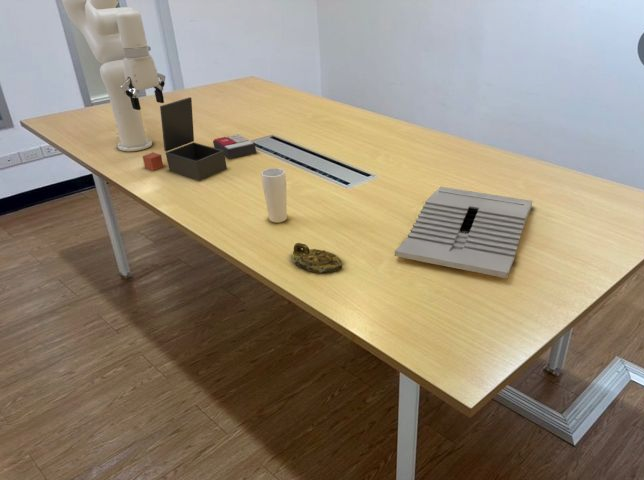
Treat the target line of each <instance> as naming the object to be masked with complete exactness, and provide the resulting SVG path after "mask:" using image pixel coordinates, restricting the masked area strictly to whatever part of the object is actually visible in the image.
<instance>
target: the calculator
mask: <svg viewBox="0 0 644 480" xmlns="http://www.w3.org/2000/svg"><path fill="white" fill-rule="evenodd" d="M212 142H213V143H212V144H213V148H216V149H220V150H223V151H224V153H225V158H227V159H229V160H231V159H236V158H241V157H244V156H248V155H252V154H253V155H254V154H256V153H257V149H256V143H255V142H253V141H251V140H249V139H248V138H246V137H244V136H242V135H241V134H239V133H236V134H233V135H228V136H223V137H217V138H214V139H213V140H212Z"/></svg>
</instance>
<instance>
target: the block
mask: <svg viewBox="0 0 644 480" xmlns="http://www.w3.org/2000/svg"><path fill="white" fill-rule="evenodd" d="M142 161H143V164H144V168H145V169H147V170H150V171H156V170H159V169H161V168H164V167H165V166H164V162H163V157H162V154H159V153H157V152H150V153H146V154H144V155H142Z"/></svg>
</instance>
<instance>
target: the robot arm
mask: <svg viewBox="0 0 644 480" xmlns="http://www.w3.org/2000/svg"><path fill="white" fill-rule="evenodd" d="M120 1H121V0H61V2H62V6H63V9H64V11H65V13H66V15H67V16H68V18H69V19H70V21H71V22H72V24H73V25H74V26H75V27H76V28H77V29H78V30H79V32H80V33H81V34H82V35H83V37H84V39H85V41H86V43H87V45H88V47H89V49H90V50H91V52H92V54H93V56H94V57H95V60H97V61H98V62H99V63H101V64H102V65H101V66H100V67H99V74H100V78H101V81H102V82H103V83H102V84H103V85H104V87H105V89H106V92H107V95H108V99H109V102H110V105H111V109H112V114H113V117H114V121H115V123H116V125H115V126H116V128H117V132H118V134H116V135H115V136H116V138H118V139H119V142H118V143H117V149H118V150H120V151H121V152H138V151H143V150H146V149H149V148H150V147H152V145H153V141H152V140H151V139H150V138H147V133H146V128H145V125H144V121H143V116H142V111H141V110H142V108H141V103H140V99H139V97H138V94H139V92H140V91H144V90H148V89H149V90H150V89H152V88H153V89H154V97H155V100H156V103H158V104H159V103H160V104H164V103H165V99H164V98H165V97H164V94H163V91H164V87H165V84H166V83H165V82H166V75H164V74H161V73H159V72H158V70H157V67H156V64H155V61H154V59H153V56H152V55H151V54H150V51H152V48H151V46H149V45H148V41H147V37H146V32H145V27H144V23H143V18H142V15H141V13H140V11H138V10H135V9H134V8H133V7H129V6H124V7H117V6H118V4H119V2H120Z"/></svg>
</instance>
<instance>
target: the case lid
mask: <svg viewBox="0 0 644 480" xmlns="http://www.w3.org/2000/svg"><path fill="white" fill-rule="evenodd" d="M159 111H160V120H161V130H162V139H163V140H162V141H163V149H164V152H165V153H166V152H169V151H171V150H174V149H177V148H180V147H182V146H185V145H188V144H190V143H193V142H195V136H194V135H195V134H194V117H193V101H192V97H190V96H189V97H186V98H183V99H179V100H176V101H172V102H169V103H166V104H162V105H159Z"/></svg>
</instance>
